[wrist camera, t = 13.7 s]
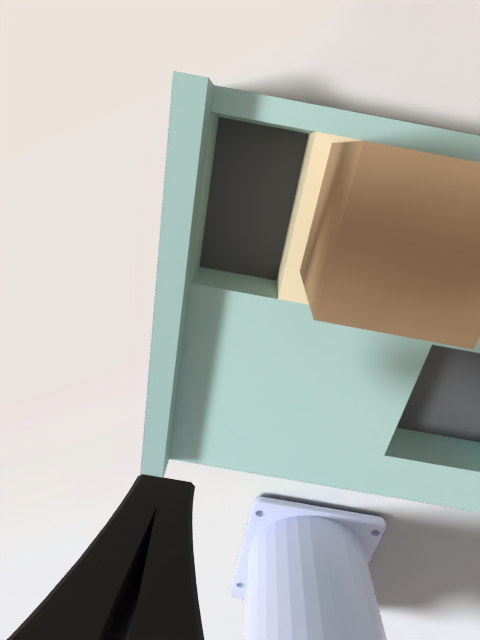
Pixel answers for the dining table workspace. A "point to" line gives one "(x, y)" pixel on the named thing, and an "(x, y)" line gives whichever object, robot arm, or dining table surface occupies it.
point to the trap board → (290, 316)
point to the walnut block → (396, 244)
